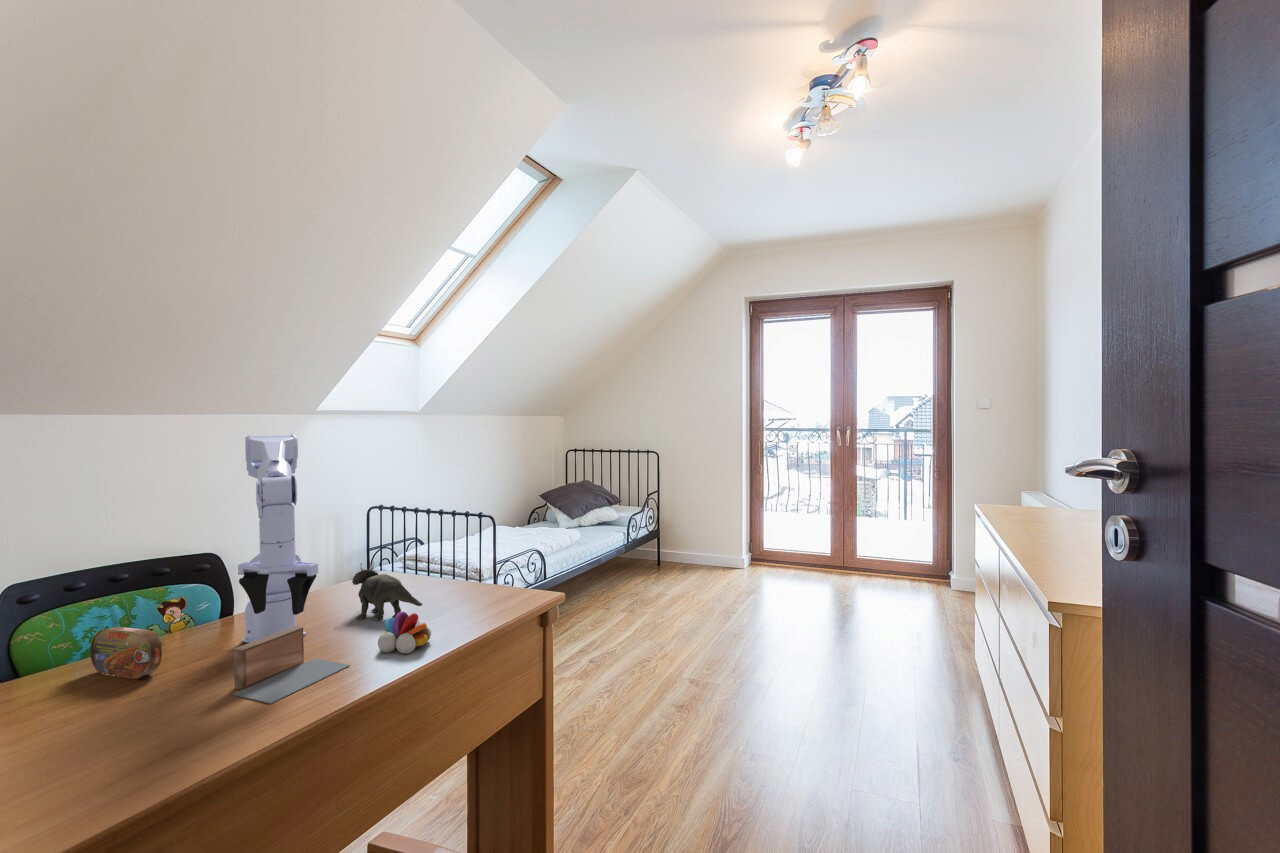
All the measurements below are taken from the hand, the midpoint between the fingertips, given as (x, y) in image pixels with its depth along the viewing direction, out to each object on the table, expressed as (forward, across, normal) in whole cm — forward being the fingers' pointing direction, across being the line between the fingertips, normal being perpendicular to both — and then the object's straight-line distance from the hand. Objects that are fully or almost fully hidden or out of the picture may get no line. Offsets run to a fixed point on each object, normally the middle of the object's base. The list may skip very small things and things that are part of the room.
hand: (279, 612), depth 114 cm
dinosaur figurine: (+11, +5, +29) cm, 31 cm away
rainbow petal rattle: (+11, +19, +11) cm, 24 cm away
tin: (+11, -26, -5) cm, 29 cm away
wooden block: (+10, +1, -4) cm, 11 cm away
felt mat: (+10, +6, -5) cm, 13 cm away
